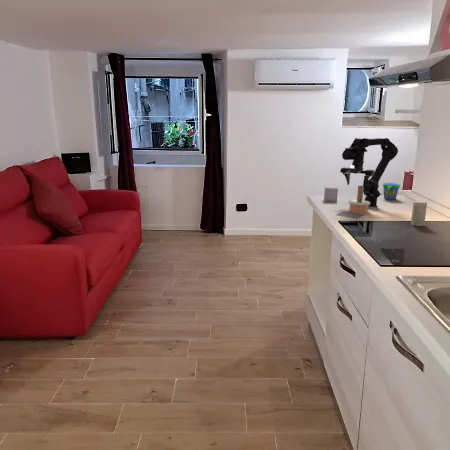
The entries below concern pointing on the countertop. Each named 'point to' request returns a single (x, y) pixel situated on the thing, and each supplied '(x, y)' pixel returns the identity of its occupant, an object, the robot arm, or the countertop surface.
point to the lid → (359, 198)
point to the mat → (350, 215)
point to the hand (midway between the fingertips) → (355, 186)
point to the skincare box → (418, 213)
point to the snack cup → (390, 190)
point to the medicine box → (330, 194)
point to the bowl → (358, 208)
